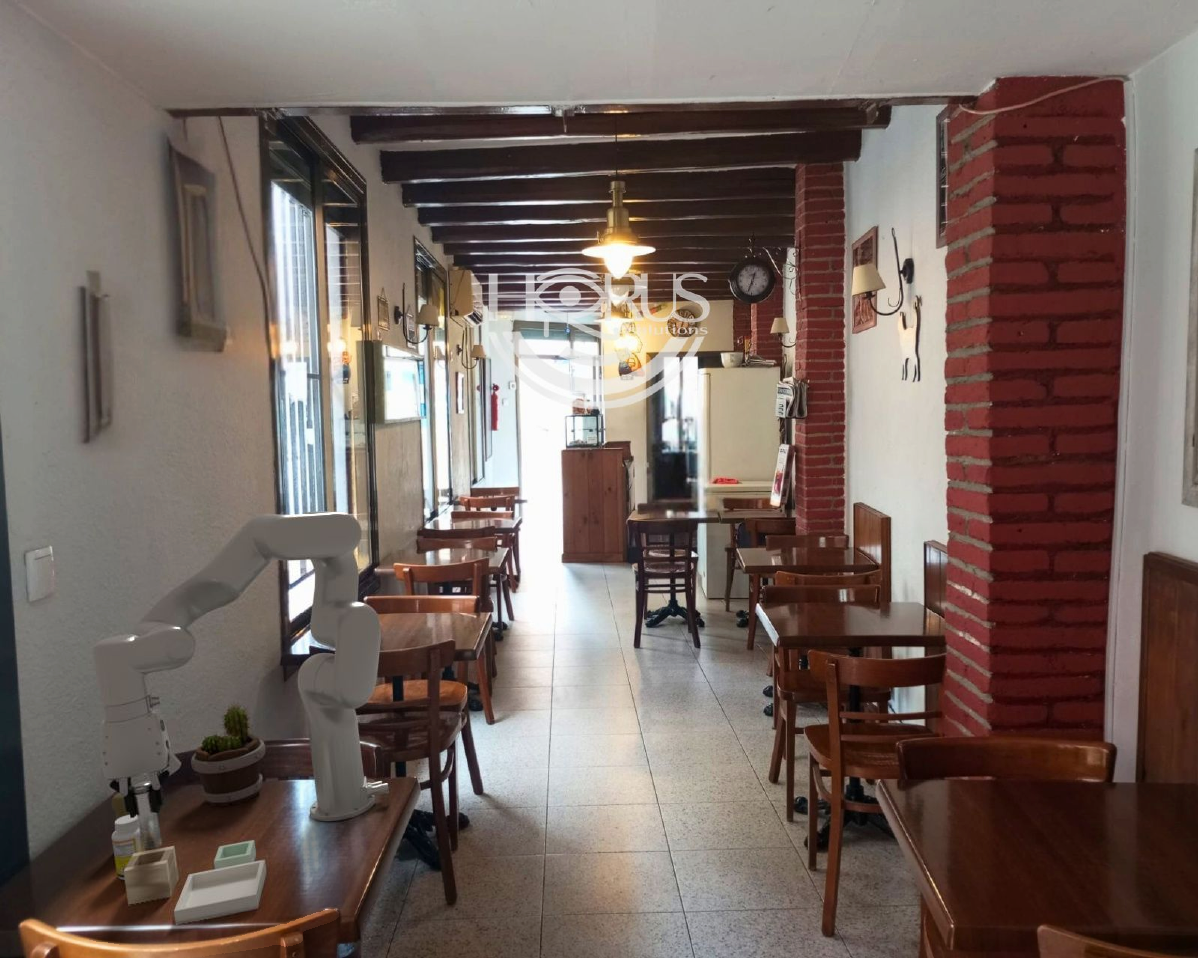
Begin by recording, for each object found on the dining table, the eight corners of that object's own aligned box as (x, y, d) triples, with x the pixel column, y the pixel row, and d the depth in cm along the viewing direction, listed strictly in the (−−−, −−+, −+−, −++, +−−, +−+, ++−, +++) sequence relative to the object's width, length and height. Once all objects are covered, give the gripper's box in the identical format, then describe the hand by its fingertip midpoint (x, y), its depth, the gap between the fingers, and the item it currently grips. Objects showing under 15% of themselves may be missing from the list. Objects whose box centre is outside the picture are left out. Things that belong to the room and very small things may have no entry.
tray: (266, 872, 162) (264, 859, 162) (257, 908, 150) (256, 894, 150) (190, 887, 160) (189, 874, 159) (175, 925, 148) (173, 911, 147)
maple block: (178, 878, 163) (174, 845, 163) (170, 896, 157) (165, 862, 157) (138, 886, 162) (133, 853, 161) (128, 905, 156) (123, 871, 155)
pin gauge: (164, 839, 161) (153, 779, 160) (160, 847, 158) (149, 786, 157) (144, 843, 161) (134, 783, 159) (140, 852, 158) (129, 790, 156)
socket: (256, 854, 170) (254, 839, 170) (251, 869, 164) (249, 854, 164) (221, 861, 168) (219, 846, 168) (215, 876, 163) (213, 861, 162)
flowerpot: (234, 815, 188) (221, 720, 187) (181, 807, 195) (168, 715, 193) (286, 786, 201) (274, 696, 200) (234, 779, 208) (223, 693, 206)
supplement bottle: (143, 862, 171) (136, 809, 170) (157, 870, 167) (149, 815, 166) (112, 876, 167) (104, 821, 166) (125, 884, 163) (117, 828, 162)
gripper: (184, 692, 162) (201, 792, 164) (82, 711, 159) (100, 813, 161) (175, 706, 155) (193, 810, 157) (68, 725, 151) (88, 832, 153)
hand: (146, 811), depth 159 cm, fingers closed on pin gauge, 3 cm apart
